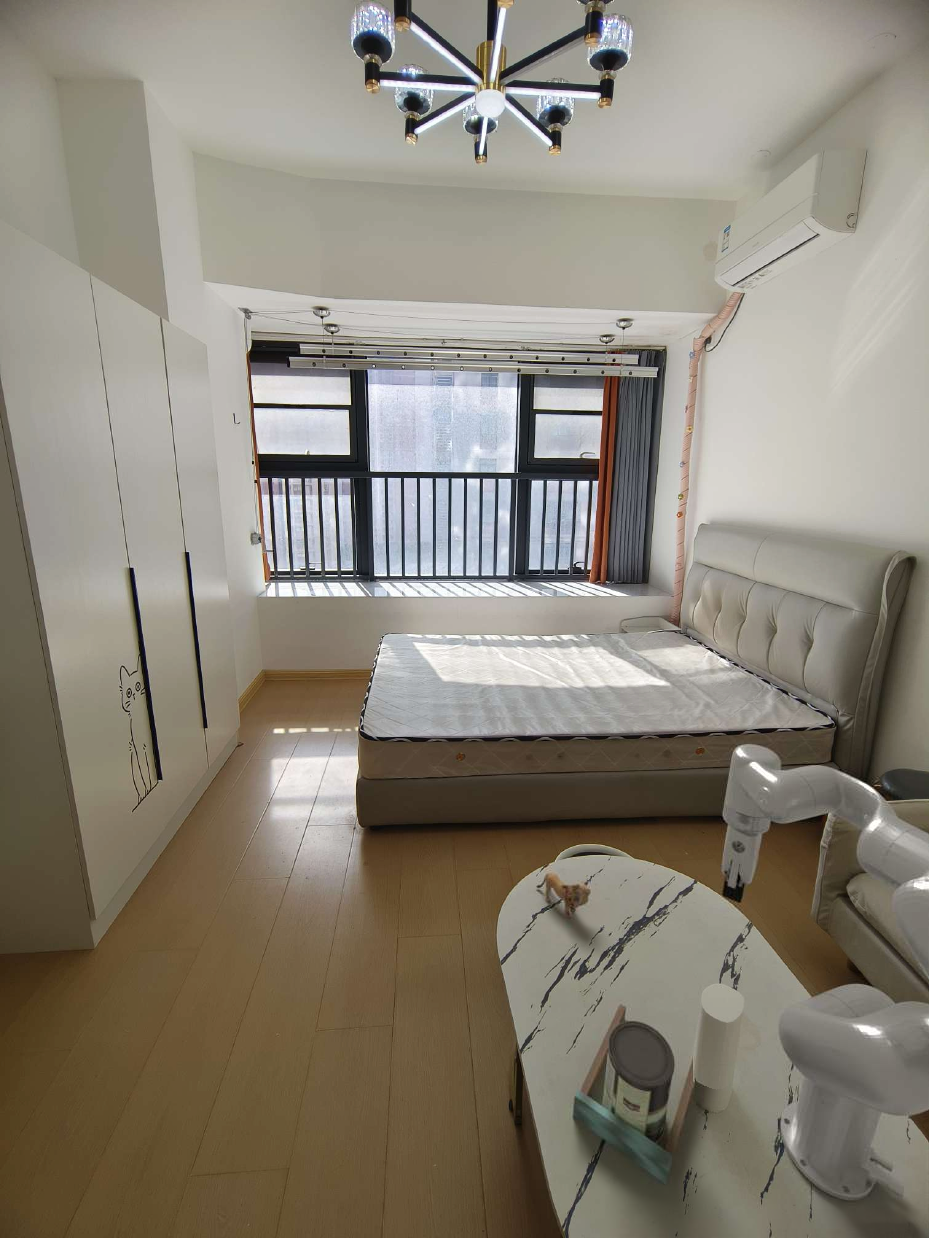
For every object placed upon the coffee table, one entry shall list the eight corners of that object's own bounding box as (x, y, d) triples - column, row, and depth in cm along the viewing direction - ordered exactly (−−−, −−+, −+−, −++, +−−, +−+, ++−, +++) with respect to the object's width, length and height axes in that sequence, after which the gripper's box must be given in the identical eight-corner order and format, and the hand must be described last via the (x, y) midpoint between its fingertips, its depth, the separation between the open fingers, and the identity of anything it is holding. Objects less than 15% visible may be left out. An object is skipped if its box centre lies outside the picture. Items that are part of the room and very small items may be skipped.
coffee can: (655, 1080, 97) (663, 1021, 93) (673, 1151, 87) (683, 1088, 83) (596, 1077, 97) (602, 1018, 93) (608, 1147, 87) (615, 1085, 83)
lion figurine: (592, 913, 132) (594, 883, 129) (580, 927, 128) (583, 896, 126) (541, 882, 141) (543, 853, 139) (529, 894, 138) (530, 865, 135)
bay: (700, 1063, 99) (704, 1043, 98) (666, 1184, 83) (669, 1162, 82) (618, 1015, 108) (620, 995, 107) (572, 1116, 92) (574, 1095, 90)
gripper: (763, 845, 89) (746, 934, 94) (776, 799, 100) (760, 881, 106) (714, 827, 93) (701, 913, 98) (732, 785, 105) (719, 864, 110)
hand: (732, 896), depth 102 cm, fingers closed
